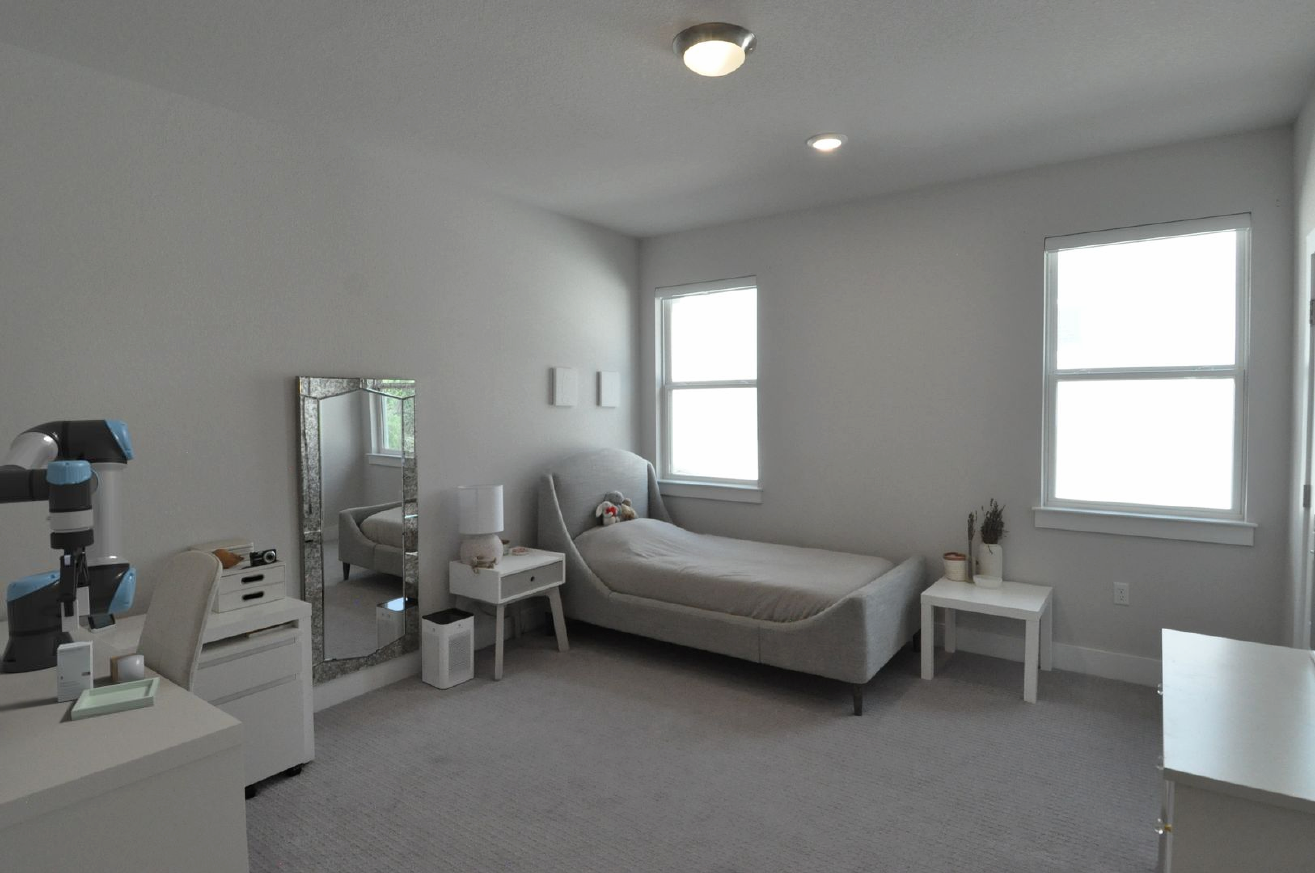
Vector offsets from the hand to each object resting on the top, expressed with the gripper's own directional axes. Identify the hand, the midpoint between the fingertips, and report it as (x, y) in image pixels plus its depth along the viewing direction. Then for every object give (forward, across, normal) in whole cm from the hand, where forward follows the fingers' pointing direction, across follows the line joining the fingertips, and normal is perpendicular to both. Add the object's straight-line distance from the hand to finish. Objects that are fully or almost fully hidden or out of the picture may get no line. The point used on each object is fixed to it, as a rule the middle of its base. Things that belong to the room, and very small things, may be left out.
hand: (76, 622), depth 158 cm
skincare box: (+18, -2, -1) cm, 18 cm away
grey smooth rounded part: (+18, -5, +9) cm, 20 cm away
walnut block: (+18, -11, +7) cm, 22 cm away
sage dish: (+17, +8, +8) cm, 20 cm away
